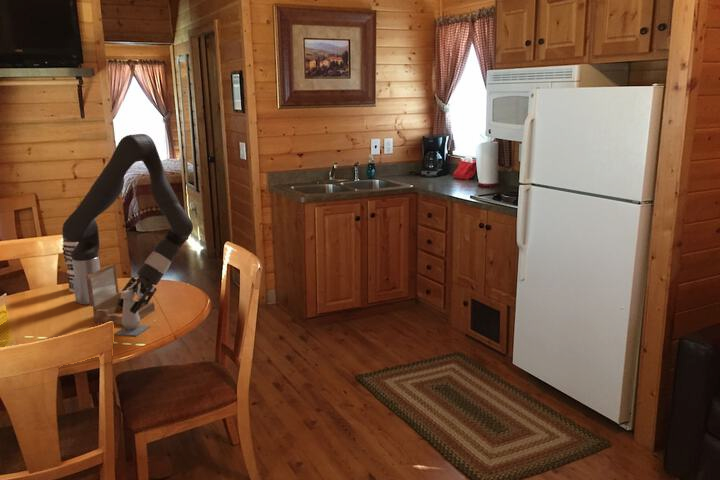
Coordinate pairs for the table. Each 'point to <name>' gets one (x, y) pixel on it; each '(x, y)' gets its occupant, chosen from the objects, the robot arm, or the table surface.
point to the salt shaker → (128, 317)
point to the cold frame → (109, 296)
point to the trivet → (132, 331)
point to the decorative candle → (69, 260)
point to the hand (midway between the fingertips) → (126, 309)
